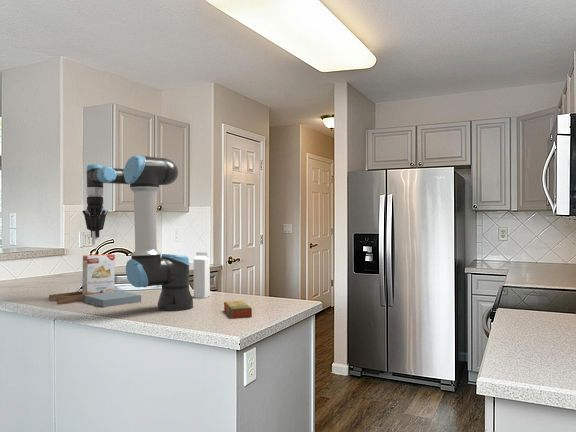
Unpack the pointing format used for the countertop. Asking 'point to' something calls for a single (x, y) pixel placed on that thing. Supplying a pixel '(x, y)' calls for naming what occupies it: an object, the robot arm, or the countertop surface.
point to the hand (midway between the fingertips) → (95, 244)
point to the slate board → (112, 298)
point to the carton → (237, 309)
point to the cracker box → (98, 273)
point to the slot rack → (67, 297)
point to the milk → (201, 275)
